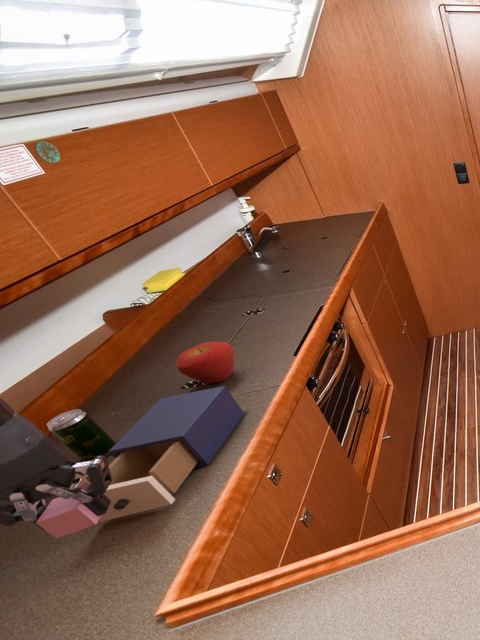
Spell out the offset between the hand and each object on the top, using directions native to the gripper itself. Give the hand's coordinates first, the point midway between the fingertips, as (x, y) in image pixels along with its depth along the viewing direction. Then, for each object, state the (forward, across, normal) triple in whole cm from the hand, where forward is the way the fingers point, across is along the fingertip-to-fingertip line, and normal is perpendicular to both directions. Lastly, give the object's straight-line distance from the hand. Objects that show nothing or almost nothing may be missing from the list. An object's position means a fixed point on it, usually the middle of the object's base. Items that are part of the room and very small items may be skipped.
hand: (82, 518), depth 66 cm
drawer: (+14, +2, -20) cm, 24 cm away
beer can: (+15, +19, -40) cm, 47 cm away
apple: (+15, +1, -58) cm, 60 cm away
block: (0, 0, 0) cm, 0 cm away
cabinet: (+15, 0, -31) cm, 34 cm away
